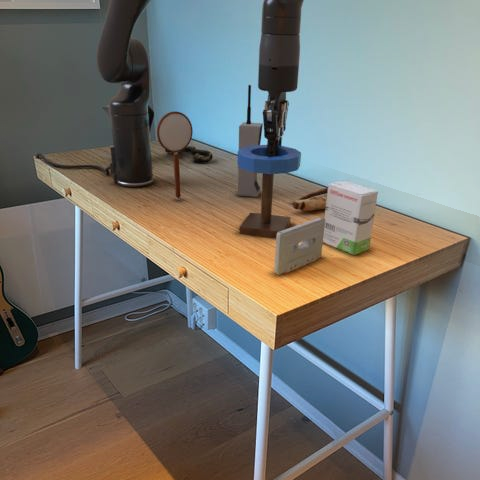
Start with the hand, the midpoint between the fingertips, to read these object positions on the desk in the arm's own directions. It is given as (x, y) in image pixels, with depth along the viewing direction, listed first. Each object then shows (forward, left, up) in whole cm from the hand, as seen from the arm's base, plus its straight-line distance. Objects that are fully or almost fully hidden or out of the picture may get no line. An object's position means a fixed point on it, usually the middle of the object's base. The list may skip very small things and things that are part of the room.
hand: (273, 156), depth 101 cm
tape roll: (0, -5, -1) cm, 5 cm away
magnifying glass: (-24, +6, -14) cm, 28 cm away
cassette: (+10, -20, -14) cm, 27 cm away
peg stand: (0, -5, -14) cm, 15 cm away
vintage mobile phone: (-9, +16, -14) cm, 23 cm away
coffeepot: (-51, +37, -14) cm, 65 cm away
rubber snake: (-36, +45, -14) cm, 59 cm away
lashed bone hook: (+9, +13, -14) cm, 21 cm away
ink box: (+17, -9, -14) cm, 24 cm away
